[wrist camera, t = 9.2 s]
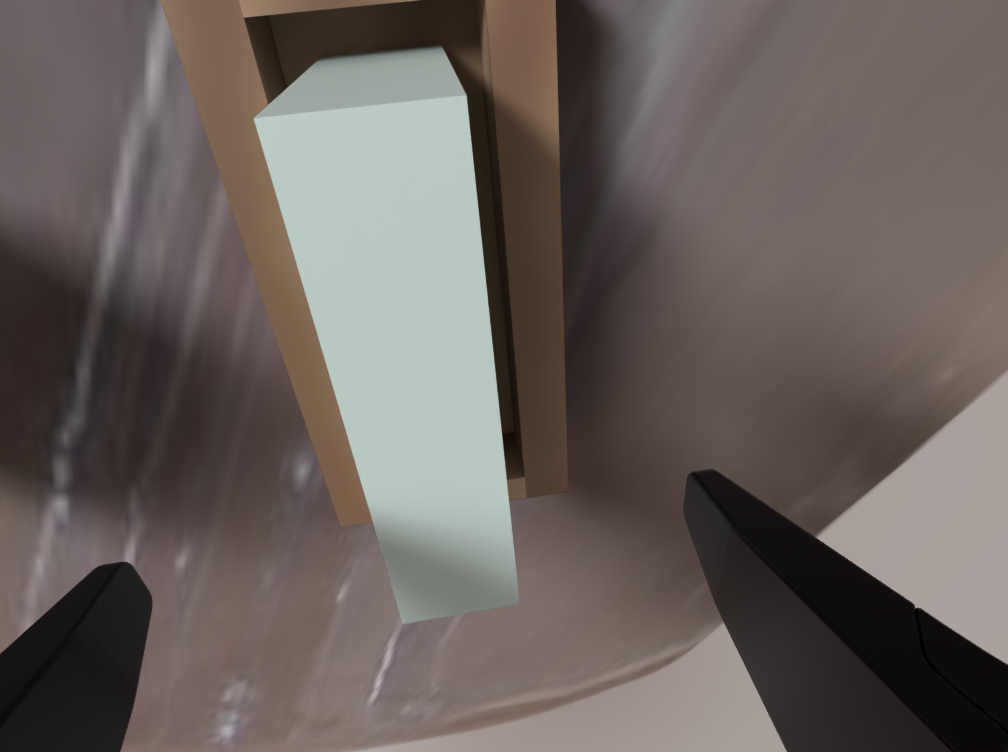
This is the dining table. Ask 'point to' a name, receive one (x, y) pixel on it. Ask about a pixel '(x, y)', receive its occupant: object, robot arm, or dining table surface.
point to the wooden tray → (498, 175)
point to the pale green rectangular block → (402, 312)
